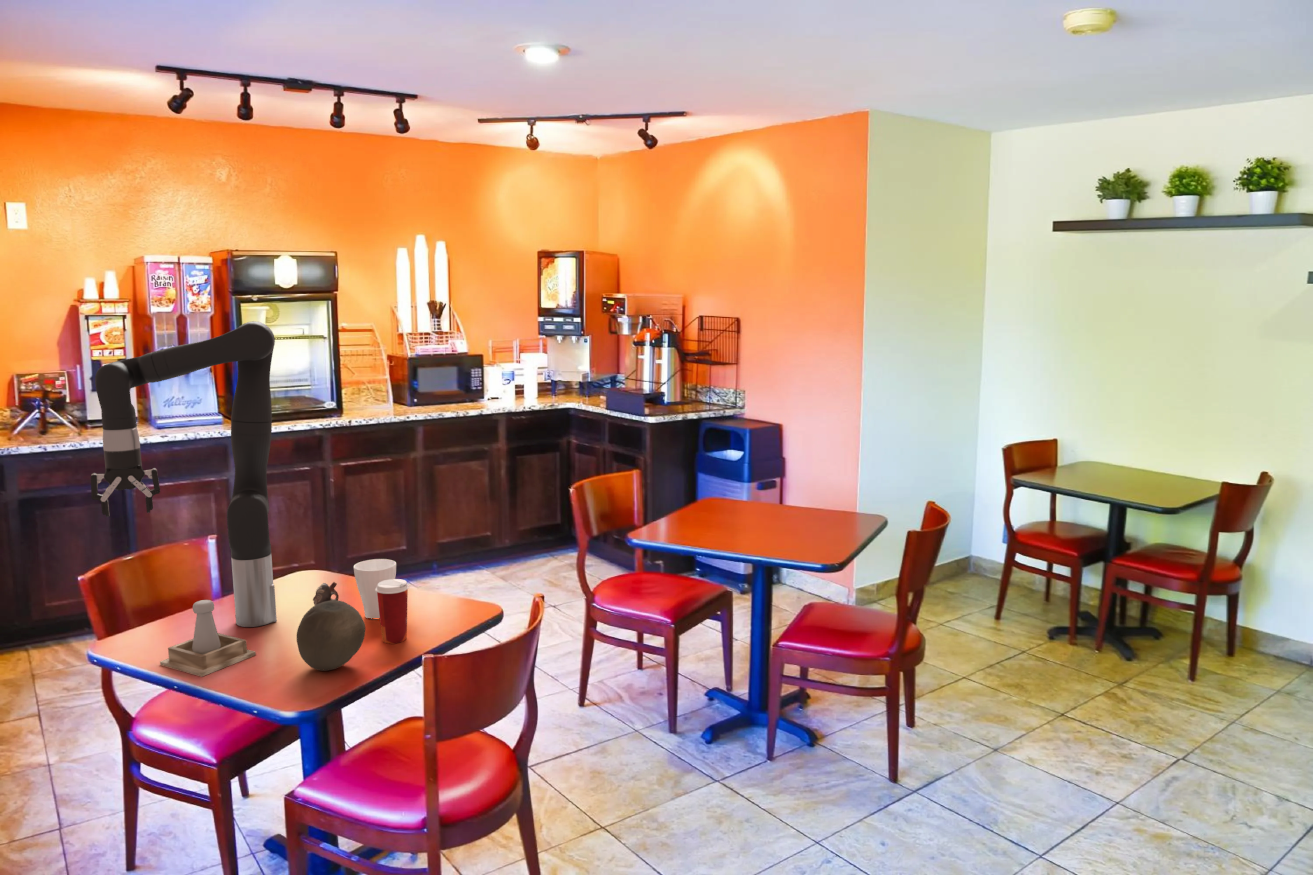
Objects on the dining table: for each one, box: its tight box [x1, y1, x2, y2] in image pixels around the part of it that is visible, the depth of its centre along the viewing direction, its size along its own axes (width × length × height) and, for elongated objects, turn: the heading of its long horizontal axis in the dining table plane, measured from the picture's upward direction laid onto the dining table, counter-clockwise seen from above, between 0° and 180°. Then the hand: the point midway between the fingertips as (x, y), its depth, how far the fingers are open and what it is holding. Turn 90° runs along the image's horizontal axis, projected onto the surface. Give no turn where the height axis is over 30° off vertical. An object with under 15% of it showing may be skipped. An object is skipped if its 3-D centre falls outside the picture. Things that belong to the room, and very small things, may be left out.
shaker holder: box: [159, 632, 257, 678], centre depth 213 cm, size 14×14×4 cm
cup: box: [353, 558, 397, 620], centre depth 242 cm, size 10×10×14 cm
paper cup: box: [376, 578, 410, 644], centre depth 225 cm, size 8×8×14 cm
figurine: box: [312, 581, 339, 606], centre depth 231 cm, size 7×7×12 cm
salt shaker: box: [192, 599, 221, 655], centre depth 212 cm, size 6×6×13 cm
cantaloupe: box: [296, 600, 366, 672], centre depth 208 cm, size 14×14×15 cm
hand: (128, 514), depth 225 cm, fingers open, 8 cm apart
